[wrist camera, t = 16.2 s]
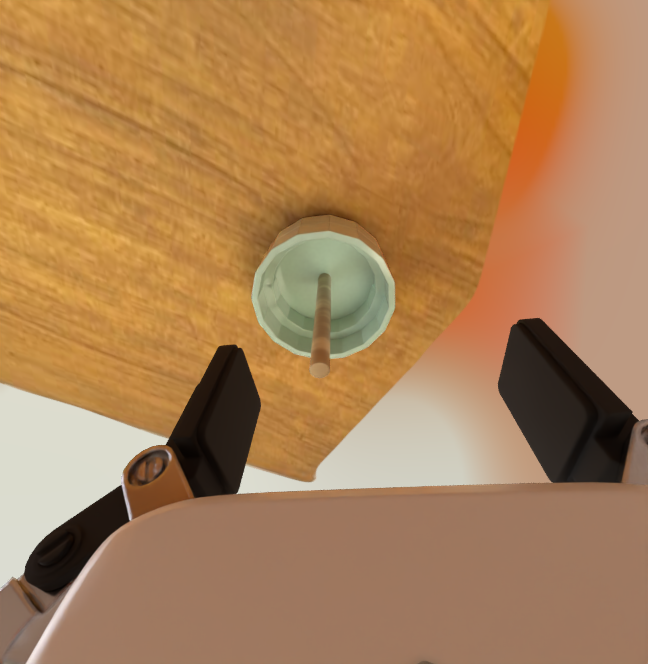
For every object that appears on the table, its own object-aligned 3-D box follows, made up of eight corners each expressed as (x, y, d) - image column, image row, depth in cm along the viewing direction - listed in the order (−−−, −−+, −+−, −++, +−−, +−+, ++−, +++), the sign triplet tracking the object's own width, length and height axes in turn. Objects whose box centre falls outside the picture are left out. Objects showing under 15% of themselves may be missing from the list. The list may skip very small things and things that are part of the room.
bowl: (384, 205, 30) (394, 222, 25) (387, 322, 38) (395, 353, 33) (250, 223, 32) (234, 242, 27) (278, 332, 39) (270, 364, 34)
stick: (330, 272, 34) (328, 361, 21) (332, 284, 34) (330, 377, 22) (317, 273, 34) (307, 363, 21) (319, 285, 34) (311, 379, 22)
